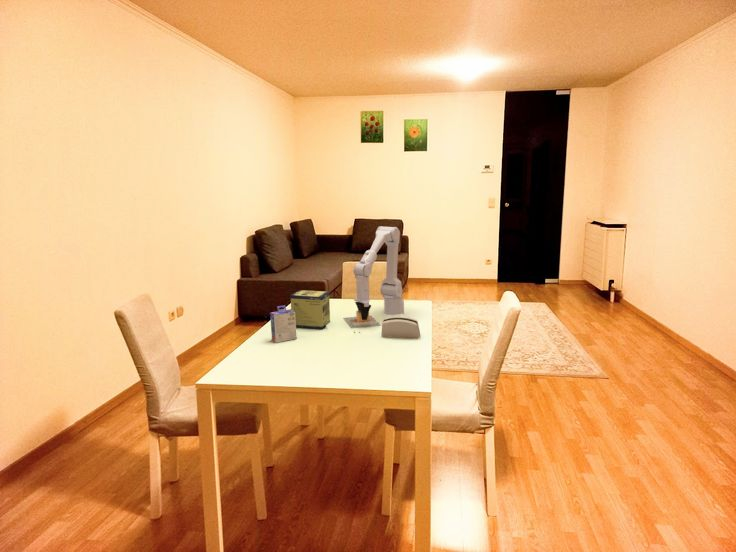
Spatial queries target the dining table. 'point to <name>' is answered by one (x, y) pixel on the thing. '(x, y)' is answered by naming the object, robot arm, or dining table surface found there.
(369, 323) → the rail
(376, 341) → the dining table surface
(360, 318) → the module
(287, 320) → the ink cartridge box
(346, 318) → the mount board
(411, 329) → the beige rounded block
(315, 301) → the protein box
